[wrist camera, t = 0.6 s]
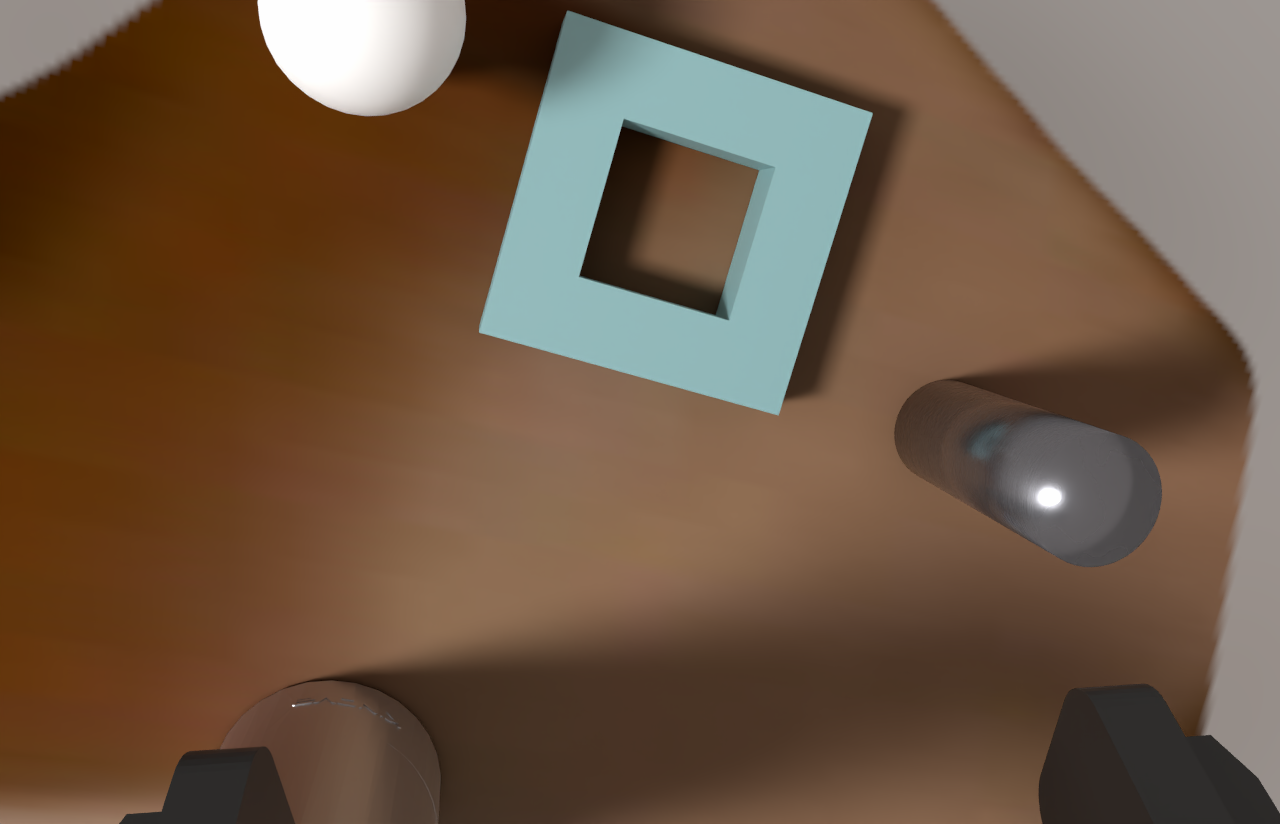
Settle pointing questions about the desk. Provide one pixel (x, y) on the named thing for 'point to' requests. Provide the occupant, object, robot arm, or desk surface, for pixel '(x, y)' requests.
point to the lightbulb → (365, 49)
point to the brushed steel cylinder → (1032, 470)
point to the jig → (701, 120)
